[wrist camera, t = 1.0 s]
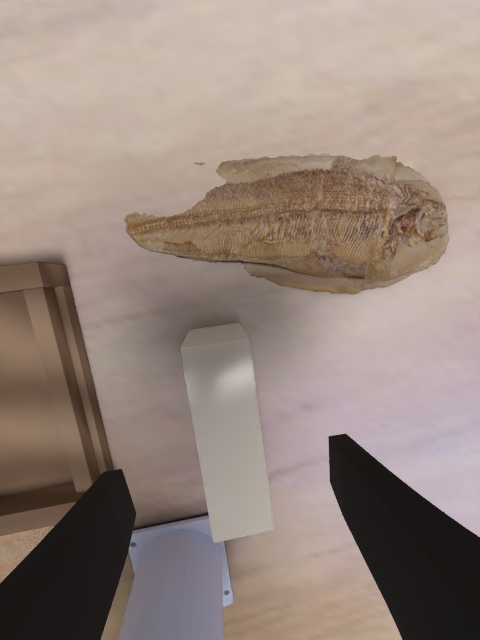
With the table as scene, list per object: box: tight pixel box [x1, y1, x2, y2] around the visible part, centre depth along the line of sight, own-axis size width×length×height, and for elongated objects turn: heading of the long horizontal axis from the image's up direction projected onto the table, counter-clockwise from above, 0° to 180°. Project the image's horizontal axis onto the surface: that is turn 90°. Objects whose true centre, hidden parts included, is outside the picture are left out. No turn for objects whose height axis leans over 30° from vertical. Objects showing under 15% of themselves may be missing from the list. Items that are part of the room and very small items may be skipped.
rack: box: [0, 262, 113, 536], centre depth 18 cm, size 18×10×3 cm, turn 8°
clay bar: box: [180, 322, 274, 543], centre depth 18 cm, size 13×4×6 cm, turn 8°
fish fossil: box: [124, 154, 449, 294], centre depth 20 cm, size 26×10×1 cm, turn 93°
